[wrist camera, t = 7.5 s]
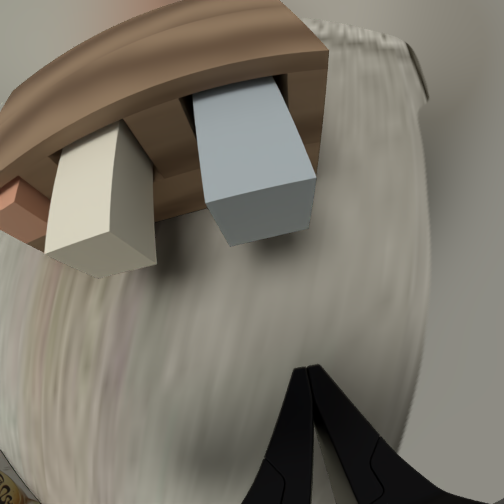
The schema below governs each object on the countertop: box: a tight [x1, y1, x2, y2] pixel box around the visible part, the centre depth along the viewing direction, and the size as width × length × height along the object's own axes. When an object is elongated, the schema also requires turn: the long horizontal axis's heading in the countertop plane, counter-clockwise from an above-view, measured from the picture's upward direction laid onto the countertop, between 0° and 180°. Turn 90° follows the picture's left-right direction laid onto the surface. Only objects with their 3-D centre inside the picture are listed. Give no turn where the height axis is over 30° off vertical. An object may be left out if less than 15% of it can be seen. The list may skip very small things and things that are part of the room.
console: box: [0, 0, 329, 252], centre depth 16 cm, size 12×22×10 cm, turn 101°
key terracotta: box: [0, 175, 51, 244], centre depth 13 cm, size 6×4×4 cm, turn 11°
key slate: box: [192, 76, 316, 247], centre depth 11 cm, size 6×4×4 cm, turn 11°
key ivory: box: [44, 119, 157, 279], centre depth 12 cm, size 6×4×4 cm, turn 11°
